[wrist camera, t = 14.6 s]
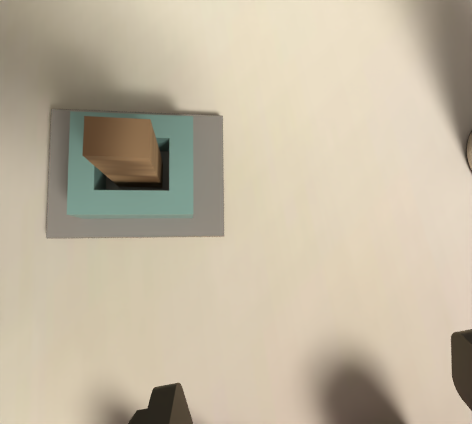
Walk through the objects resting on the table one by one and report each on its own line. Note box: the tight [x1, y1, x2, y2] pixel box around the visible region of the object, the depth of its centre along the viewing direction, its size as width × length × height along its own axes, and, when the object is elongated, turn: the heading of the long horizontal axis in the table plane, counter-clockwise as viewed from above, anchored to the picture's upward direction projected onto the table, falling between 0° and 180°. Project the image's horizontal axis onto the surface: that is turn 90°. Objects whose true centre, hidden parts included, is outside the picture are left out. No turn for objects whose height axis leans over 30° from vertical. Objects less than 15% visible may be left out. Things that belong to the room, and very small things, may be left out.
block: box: [82, 116, 163, 188], centre depth 26 cm, size 4×2×11 cm, turn 90°
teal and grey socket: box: [46, 109, 224, 239], centre depth 30 cm, size 16×12×5 cm
